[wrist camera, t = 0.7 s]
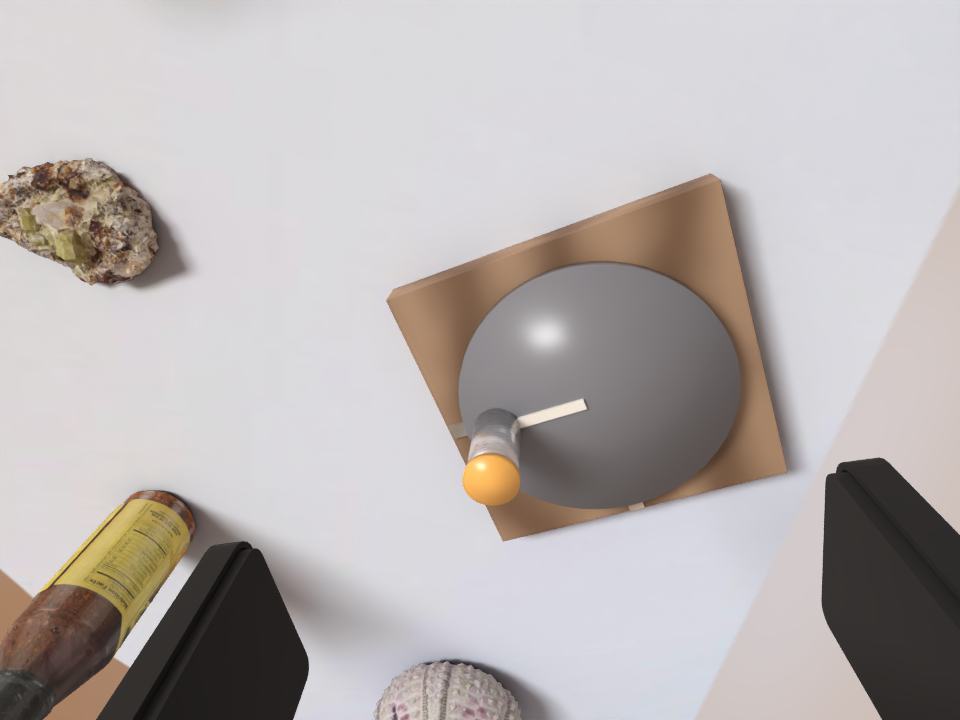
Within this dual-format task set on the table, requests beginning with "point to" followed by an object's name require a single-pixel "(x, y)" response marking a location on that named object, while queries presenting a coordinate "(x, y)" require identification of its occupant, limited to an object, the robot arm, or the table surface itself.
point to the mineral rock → (79, 219)
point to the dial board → (621, 238)
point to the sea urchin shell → (446, 695)
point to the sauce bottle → (91, 604)
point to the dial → (595, 388)
